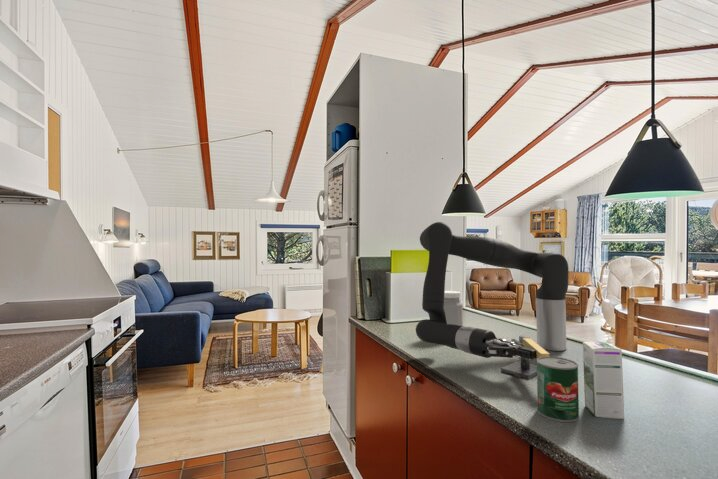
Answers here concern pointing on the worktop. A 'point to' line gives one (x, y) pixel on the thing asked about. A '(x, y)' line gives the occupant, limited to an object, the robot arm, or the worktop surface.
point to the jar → (453, 307)
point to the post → (521, 368)
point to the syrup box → (603, 379)
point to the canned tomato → (557, 389)
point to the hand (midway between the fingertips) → (534, 354)
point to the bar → (533, 346)
